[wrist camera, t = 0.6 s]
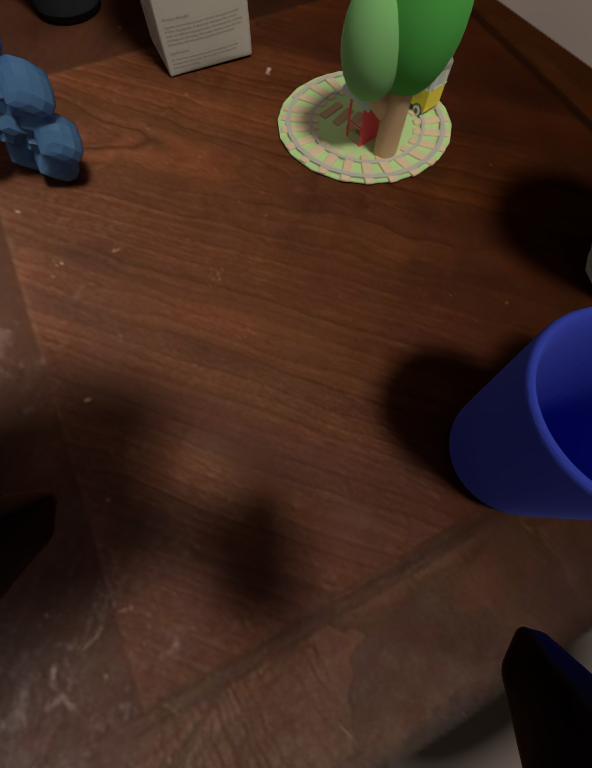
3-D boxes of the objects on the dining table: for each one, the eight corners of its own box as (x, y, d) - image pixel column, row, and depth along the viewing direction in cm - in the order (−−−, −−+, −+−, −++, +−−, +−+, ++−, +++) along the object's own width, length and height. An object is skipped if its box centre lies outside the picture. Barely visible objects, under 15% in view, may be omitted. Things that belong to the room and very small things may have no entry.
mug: (633, 425, 24) (853, 356, 15) (509, 561, 21) (687, 584, 12) (527, 333, 26) (661, 223, 17) (402, 445, 23) (480, 386, 14)
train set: (482, -190, 24) (608, -77, 19) (414, 60, 36) (480, 165, 32) (244, -171, 22) (318, -40, 17) (259, 86, 35) (304, 201, 30)
